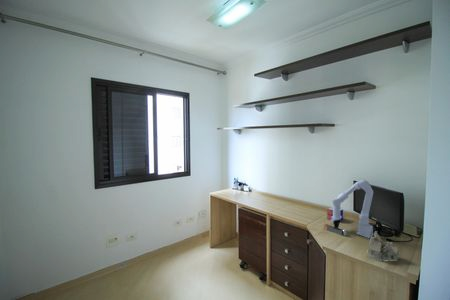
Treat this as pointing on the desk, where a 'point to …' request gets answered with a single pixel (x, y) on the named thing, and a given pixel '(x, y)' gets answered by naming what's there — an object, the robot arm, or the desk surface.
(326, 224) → the arm
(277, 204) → the desk surface
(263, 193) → the desk surface
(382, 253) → the ceramic cottage
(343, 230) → the tongs fixed
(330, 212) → the puzzle cube
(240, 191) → the desk surface
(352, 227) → the desk surface
